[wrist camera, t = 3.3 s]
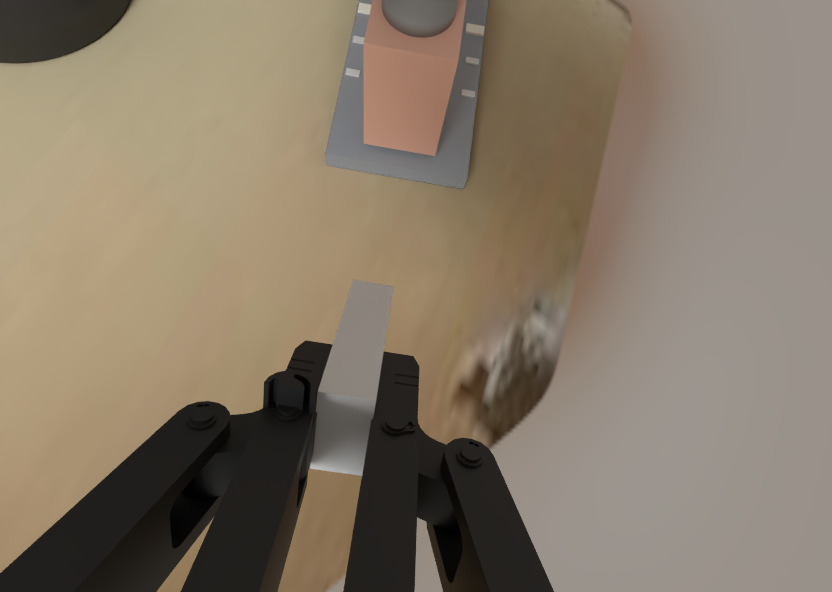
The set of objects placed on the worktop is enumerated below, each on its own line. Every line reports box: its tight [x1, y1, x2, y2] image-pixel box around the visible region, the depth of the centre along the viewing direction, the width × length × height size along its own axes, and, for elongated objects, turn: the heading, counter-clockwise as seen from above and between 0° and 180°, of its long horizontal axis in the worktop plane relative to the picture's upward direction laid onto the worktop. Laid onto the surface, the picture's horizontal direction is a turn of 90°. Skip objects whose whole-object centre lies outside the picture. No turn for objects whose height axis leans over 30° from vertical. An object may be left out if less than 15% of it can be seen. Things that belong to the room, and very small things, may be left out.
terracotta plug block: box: [363, 0, 466, 156], centre depth 31 cm, size 6×5×10 cm
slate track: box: [325, 0, 489, 189], centre depth 36 cm, size 22×10×8 cm, turn 172°
